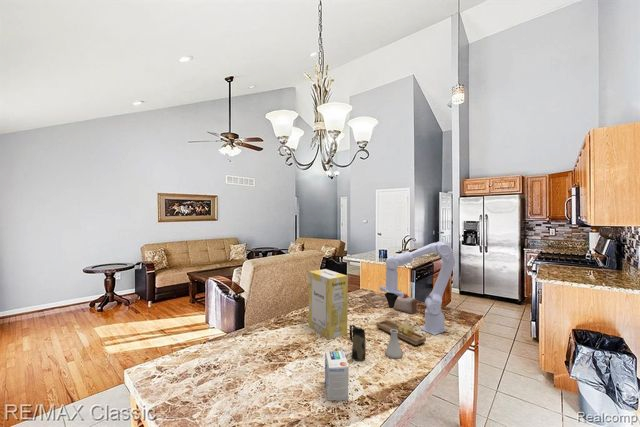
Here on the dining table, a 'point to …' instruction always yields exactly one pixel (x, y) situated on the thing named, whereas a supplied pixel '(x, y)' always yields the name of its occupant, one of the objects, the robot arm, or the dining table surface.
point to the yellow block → (406, 330)
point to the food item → (406, 304)
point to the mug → (358, 343)
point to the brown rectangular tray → (412, 339)
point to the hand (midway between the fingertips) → (391, 307)
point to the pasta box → (328, 302)
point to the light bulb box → (336, 375)
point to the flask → (393, 346)
